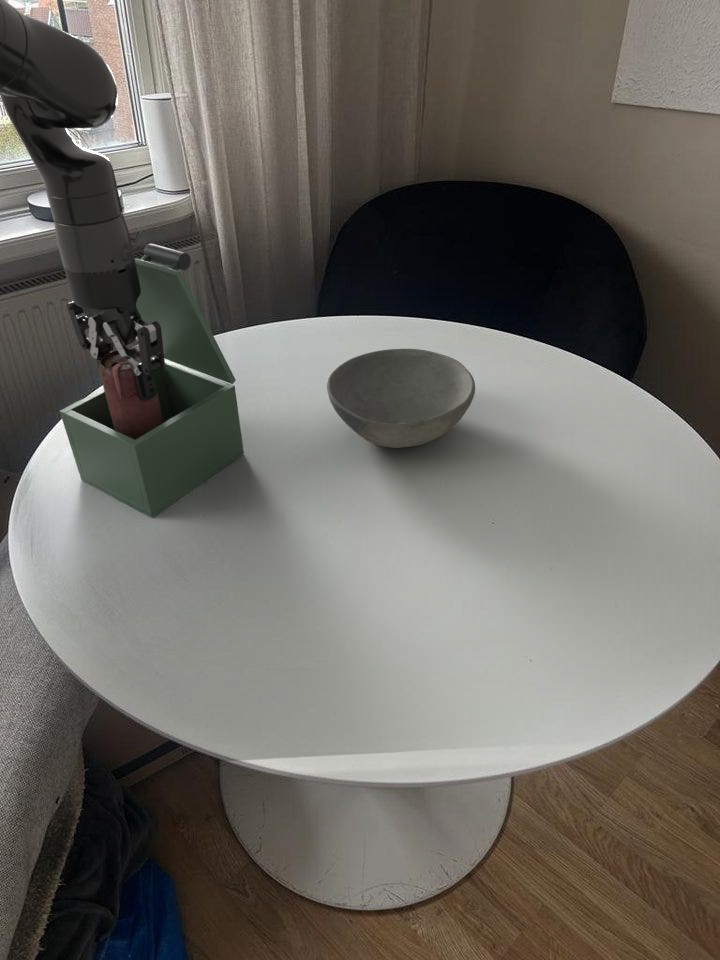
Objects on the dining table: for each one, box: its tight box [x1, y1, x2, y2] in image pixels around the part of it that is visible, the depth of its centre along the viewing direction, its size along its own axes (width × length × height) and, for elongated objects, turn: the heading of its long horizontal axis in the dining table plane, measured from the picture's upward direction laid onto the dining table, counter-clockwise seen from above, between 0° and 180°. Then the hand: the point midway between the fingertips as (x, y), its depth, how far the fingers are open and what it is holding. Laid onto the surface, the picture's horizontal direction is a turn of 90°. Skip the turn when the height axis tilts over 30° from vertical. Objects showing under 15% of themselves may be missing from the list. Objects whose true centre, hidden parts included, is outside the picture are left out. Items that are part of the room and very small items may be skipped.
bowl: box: [326, 348, 476, 449], centre depth 102 cm, size 21×21×8 cm
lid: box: [134, 243, 237, 385], centre depth 90 cm, size 18×14×5 cm
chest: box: [59, 359, 245, 519], centre depth 94 cm, size 17×14×11 cm
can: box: [98, 349, 164, 440], centre depth 89 cm, size 6×6×14 cm
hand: (129, 390), depth 87 cm, fingers closed on can, 6 cm apart
